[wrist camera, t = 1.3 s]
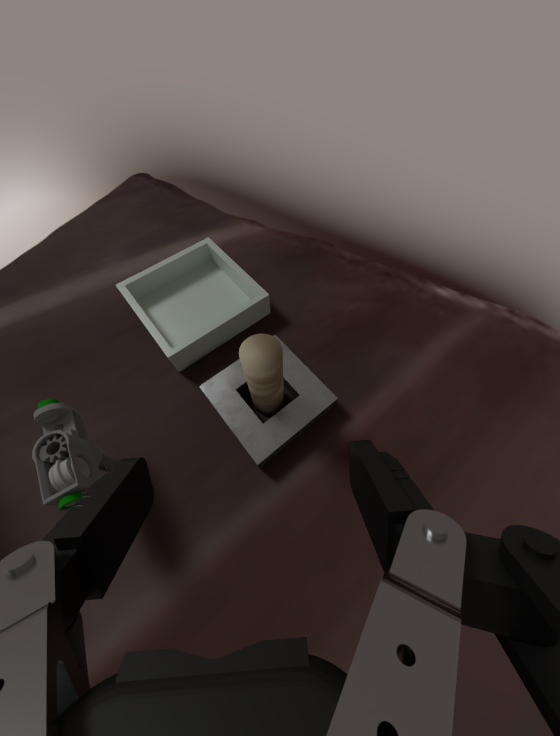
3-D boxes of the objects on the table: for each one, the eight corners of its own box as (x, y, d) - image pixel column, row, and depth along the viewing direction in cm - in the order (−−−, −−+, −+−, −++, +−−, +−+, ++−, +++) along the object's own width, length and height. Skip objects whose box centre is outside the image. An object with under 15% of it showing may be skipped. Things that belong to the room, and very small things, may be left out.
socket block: (259, 468, 32) (257, 465, 30) (204, 394, 37) (199, 386, 34) (334, 405, 35) (337, 398, 33) (275, 344, 40) (275, 334, 38)
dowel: (265, 421, 35) (256, 379, 24) (246, 397, 36) (230, 349, 26) (290, 401, 36) (291, 354, 25) (271, 380, 37) (264, 326, 27)
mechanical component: (114, 423, 35) (56, 392, 26) (140, 499, 31) (81, 493, 22) (90, 435, 34) (23, 408, 26) (114, 515, 30) (42, 515, 21)
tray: (178, 372, 38) (168, 357, 35) (129, 303, 44) (115, 284, 41) (270, 312, 43) (269, 294, 39) (214, 257, 49) (208, 237, 45)
